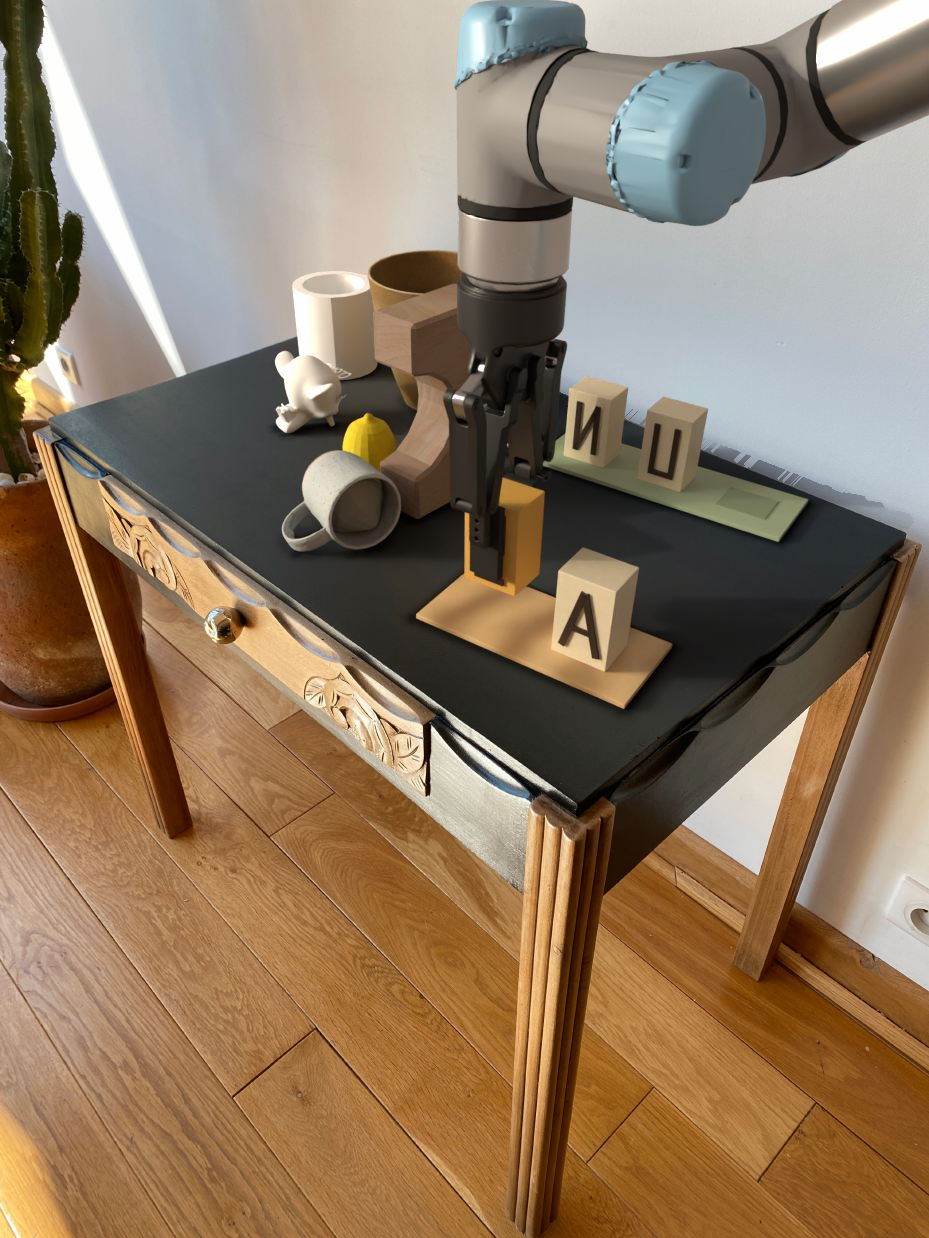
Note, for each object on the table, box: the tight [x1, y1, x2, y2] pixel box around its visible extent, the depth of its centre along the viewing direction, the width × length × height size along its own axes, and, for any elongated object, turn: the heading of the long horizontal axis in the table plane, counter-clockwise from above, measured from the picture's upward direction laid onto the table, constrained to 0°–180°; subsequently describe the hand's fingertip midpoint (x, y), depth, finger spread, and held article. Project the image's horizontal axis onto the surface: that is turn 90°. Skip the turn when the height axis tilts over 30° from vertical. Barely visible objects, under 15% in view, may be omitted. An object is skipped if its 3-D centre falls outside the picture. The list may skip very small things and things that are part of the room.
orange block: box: [464, 477, 546, 596], centre depth 75 cm, size 5×4×8 cm
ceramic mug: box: [281, 449, 402, 552], centre depth 88 cm, size 11×8×8 cm
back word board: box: [543, 432, 809, 543], centre depth 99 cm, size 28×9×1 cm, turn 56°
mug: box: [291, 270, 378, 381], centre depth 121 cm, size 14×10×11 cm
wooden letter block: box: [564, 375, 629, 468], centre depth 100 cm, size 5×4×8 cm
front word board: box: [415, 572, 673, 710], centre depth 79 cm, size 20×9×1 cm, turn 56°
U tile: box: [637, 396, 709, 492], centre depth 97 cm, size 5×4×8 cm
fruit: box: [342, 411, 397, 471], centre depth 96 cm, size 6×6×8 cm
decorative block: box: [373, 284, 489, 520], centre depth 91 cm, size 11×6×20 cm, turn 136°
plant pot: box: [366, 249, 463, 411], centre depth 110 cm, size 15×15×16 cm
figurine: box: [274, 350, 351, 434], centre depth 107 cm, size 12×8×10 cm
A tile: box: [551, 547, 640, 672], centre depth 74 cm, size 5×4×8 cm
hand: (501, 559), depth 77 cm, fingers closed on orange block, 4 cm apart
